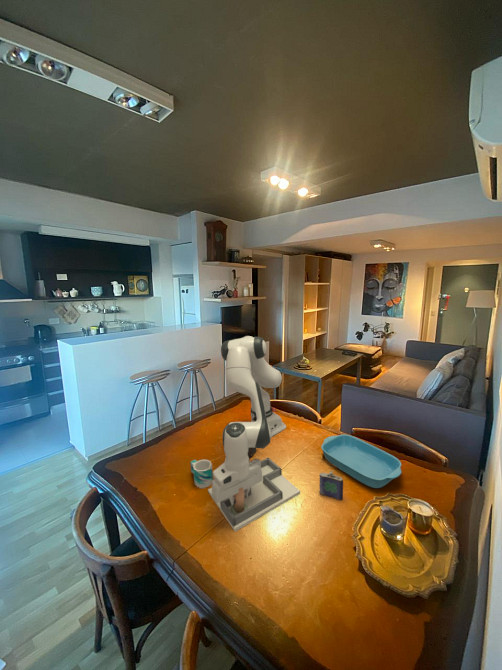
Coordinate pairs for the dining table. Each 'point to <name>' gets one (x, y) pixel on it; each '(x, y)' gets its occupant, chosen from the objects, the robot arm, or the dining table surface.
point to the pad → (235, 511)
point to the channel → (260, 496)
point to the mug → (202, 473)
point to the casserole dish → (361, 460)
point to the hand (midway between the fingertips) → (239, 500)
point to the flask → (331, 485)
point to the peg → (239, 501)
